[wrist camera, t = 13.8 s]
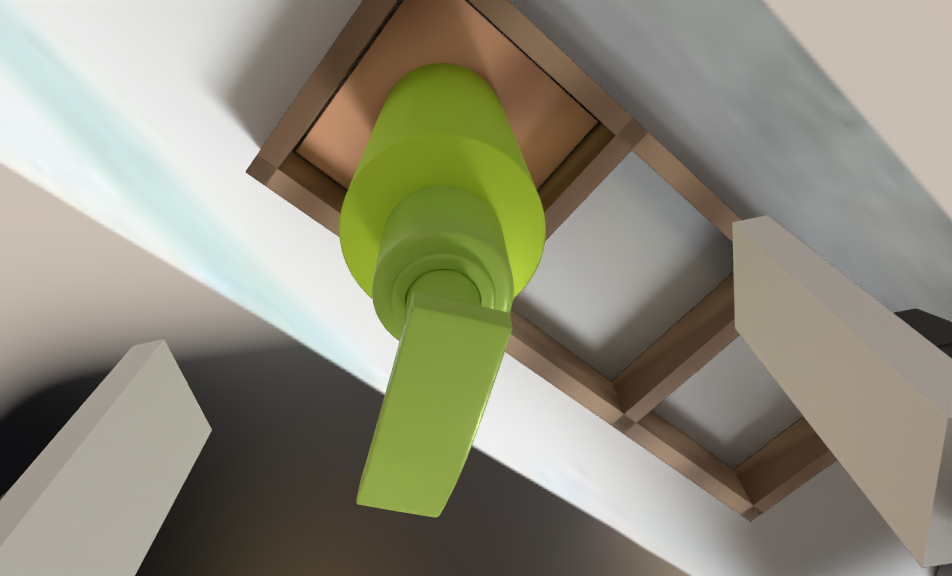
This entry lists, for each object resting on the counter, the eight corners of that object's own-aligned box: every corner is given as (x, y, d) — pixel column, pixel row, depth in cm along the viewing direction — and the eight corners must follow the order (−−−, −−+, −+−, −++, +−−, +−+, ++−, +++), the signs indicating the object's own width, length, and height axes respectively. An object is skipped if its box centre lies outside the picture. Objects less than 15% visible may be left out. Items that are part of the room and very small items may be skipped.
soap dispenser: (364, 190, 30) (255, 507, 13) (396, 46, 27) (311, 198, 10) (478, 220, 31) (525, 551, 14) (521, 83, 28) (650, 283, 11)
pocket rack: (893, 363, 37) (927, 394, 34) (731, 485, 41) (750, 521, 39) (422, -79, 26) (420, -83, 23) (263, 153, 30) (245, 172, 27)
